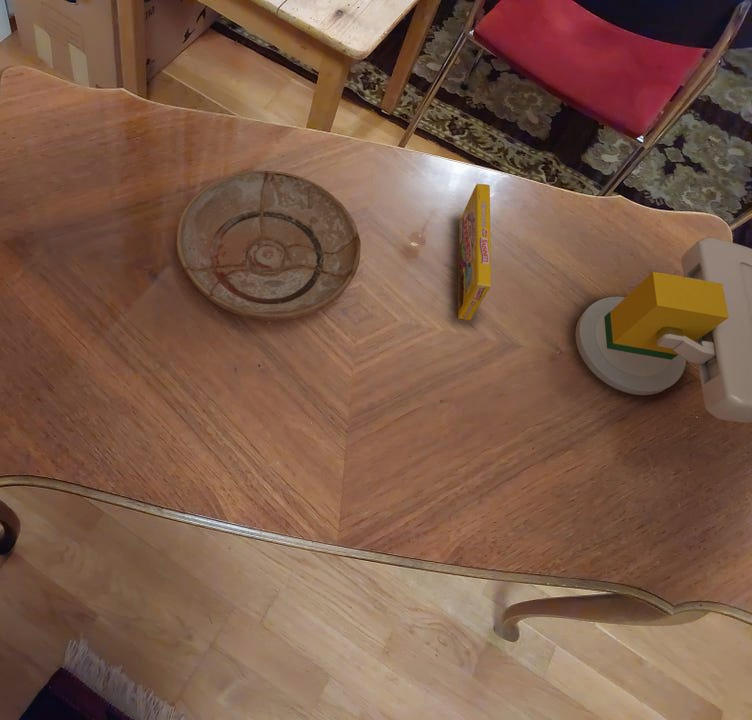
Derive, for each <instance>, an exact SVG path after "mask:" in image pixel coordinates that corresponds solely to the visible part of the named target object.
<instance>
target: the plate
mask: <svg viewBox="0 0 752 720" xmlns="http://www.w3.org/2000/svg"><path fill="white" fill-rule="evenodd" d="M625 297H626V296H609V297H605V298H601V299H599V300H597V301H595V302H593V303H592V304H590V305H589V306H588V307H587V308H586V309H584V311H583V312H582V314H581V315H580V316H579V318H578V320H577V322H576V325H575V326H576V327H575V335H574V337H575V343H576V347H577V350H578V353H579V355H580V357H581V359H582V361H583V362H584V364H585V365H586V366H587V368H588V369H589V370H590V371H591V372H592V373H593V375H595V376H596V377H597V378H598V379H599V380H600V381H602V382H603V383H605V384H607V385H608V386H610V387H612V388H613V389H616V390H618V391H621V392H623V393H626V394H630V395H637V396H650V395H656V394H659V393H661V392H664V391H666V390H667V389H669V388H670V387H672V386H673V385H675V384H676V383H677V382H678V381H679V379H680V378H681V377H682V376H683V373H684V372H685V368H686V365H687V364H686V363H687V360H686V359H685V358H684V357H682V356H681V355H679V354H678V355H677V356H676V357H675V358H673V359H672V360H669V359H664V358H658V357H652V356H646V355H641V354H635V353H629V352H624V351H618V350H612V349H607V343H606V332H605V320H604V316H606V315H607V314H608V313H609V312H611V311H612V310H613V309H614V308H615V307H616V306H617V305H618V304H619V303H620V302H621V301H622V300H623V299H624V298H625Z"/></svg>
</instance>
